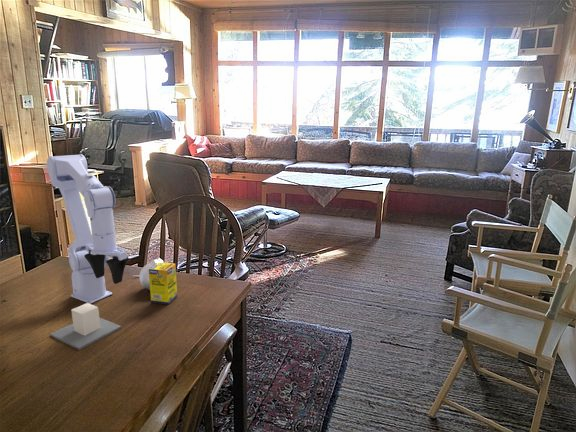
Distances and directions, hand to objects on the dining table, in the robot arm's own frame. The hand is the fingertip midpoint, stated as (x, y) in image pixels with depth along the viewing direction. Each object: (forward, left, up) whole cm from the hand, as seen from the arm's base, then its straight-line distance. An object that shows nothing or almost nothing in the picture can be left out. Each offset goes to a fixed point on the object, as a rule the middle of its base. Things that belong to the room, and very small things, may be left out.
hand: (108, 279), depth 115 cm
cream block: (+3, -10, -10) cm, 14 cm away
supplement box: (+6, +14, -11) cm, 19 cm away
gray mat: (+3, -10, -10) cm, 15 cm away
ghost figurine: (-2, +18, -11) cm, 21 cm away
